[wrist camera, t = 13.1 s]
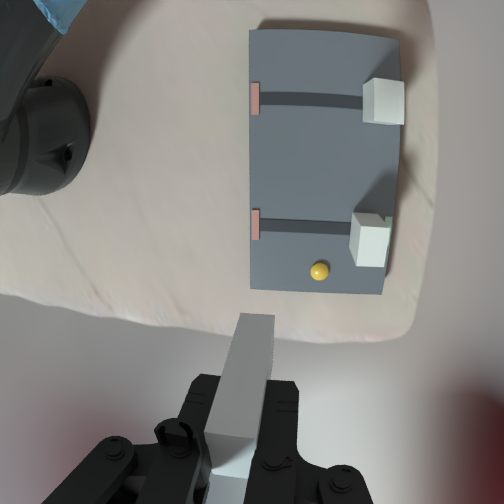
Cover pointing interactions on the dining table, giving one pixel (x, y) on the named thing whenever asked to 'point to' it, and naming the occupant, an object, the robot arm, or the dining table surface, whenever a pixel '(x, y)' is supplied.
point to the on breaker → (383, 102)
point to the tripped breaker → (368, 239)
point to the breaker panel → (317, 157)
